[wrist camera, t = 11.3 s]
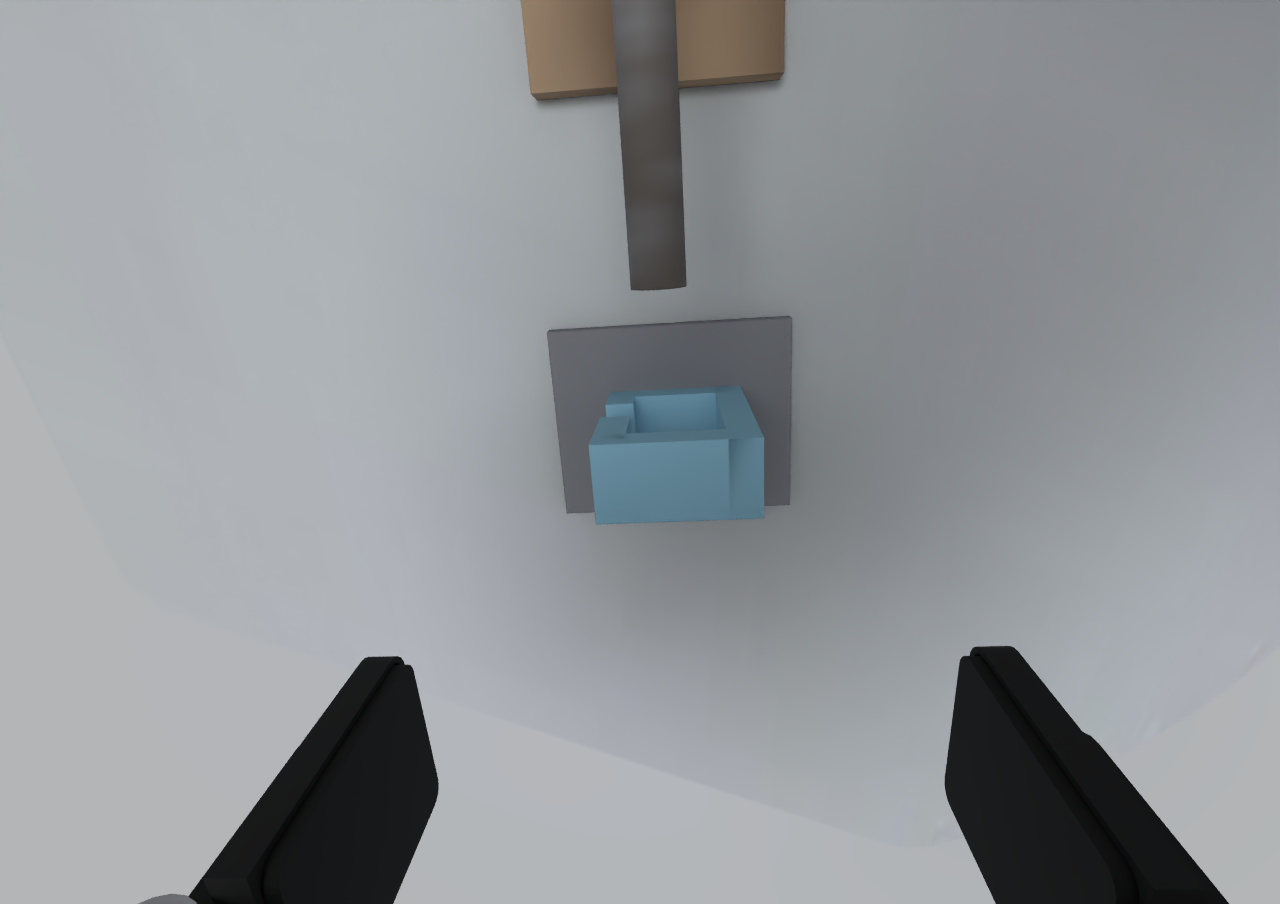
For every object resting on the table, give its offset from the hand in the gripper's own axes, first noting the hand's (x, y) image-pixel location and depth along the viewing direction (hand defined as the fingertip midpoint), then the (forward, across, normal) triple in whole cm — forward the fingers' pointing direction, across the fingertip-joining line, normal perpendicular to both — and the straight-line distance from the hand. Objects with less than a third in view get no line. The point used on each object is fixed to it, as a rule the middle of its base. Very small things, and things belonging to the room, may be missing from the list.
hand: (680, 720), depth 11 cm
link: (+20, 0, +1) cm, 20 cm away
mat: (+20, 0, +1) cm, 21 cm away
